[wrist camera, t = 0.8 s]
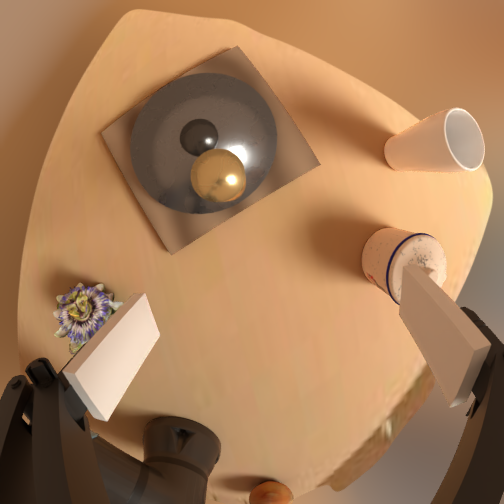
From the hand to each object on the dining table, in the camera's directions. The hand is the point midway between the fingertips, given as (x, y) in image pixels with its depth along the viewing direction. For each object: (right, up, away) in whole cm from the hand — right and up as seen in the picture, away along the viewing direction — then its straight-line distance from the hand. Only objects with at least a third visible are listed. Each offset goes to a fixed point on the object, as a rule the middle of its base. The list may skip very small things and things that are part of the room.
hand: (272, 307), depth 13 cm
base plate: (-7, +16, +20) cm, 27 cm away
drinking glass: (+20, +17, +21) cm, 33 cm away
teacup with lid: (+20, +2, +24) cm, 31 cm away
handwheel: (-7, +16, +19) cm, 26 cm away
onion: (+3, -51, +34) cm, 61 cm away
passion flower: (-24, -7, +25) cm, 35 cm away
